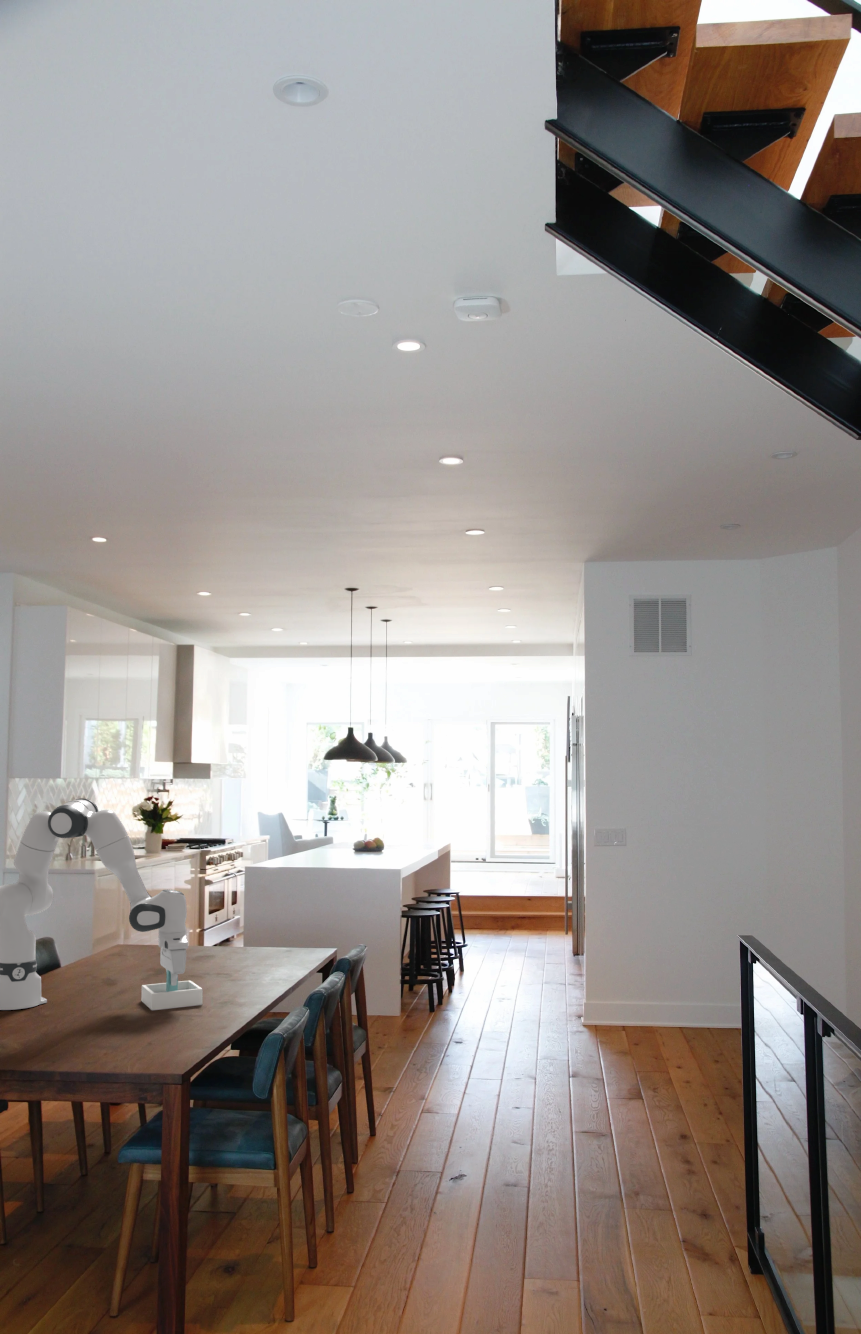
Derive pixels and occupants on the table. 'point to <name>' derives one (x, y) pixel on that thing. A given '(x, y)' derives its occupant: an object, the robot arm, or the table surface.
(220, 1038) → the table surface
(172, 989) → the peg
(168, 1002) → the box
